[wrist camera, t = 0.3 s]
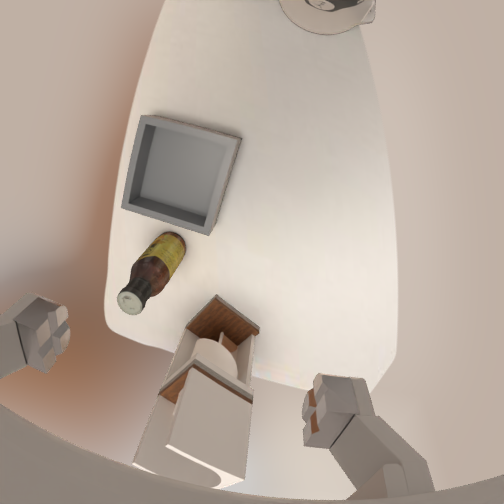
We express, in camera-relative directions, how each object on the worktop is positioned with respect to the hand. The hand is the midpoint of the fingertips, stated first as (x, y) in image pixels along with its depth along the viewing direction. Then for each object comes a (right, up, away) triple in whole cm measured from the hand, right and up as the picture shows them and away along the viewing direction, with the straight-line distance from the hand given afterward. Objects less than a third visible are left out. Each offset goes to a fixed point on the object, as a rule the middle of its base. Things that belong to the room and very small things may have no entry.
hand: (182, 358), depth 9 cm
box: (-10, +17, +44) cm, 49 cm away
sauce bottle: (-13, +4, +51) cm, 52 cm away
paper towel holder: (-4, -12, +57) cm, 58 cm away
